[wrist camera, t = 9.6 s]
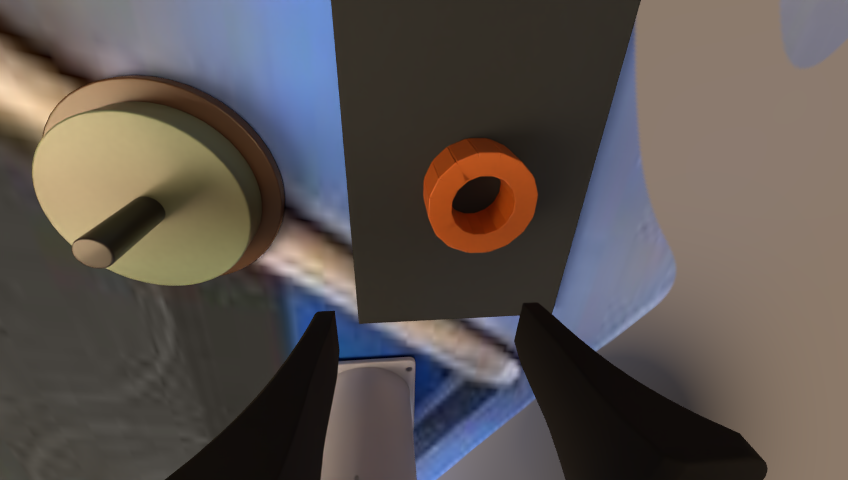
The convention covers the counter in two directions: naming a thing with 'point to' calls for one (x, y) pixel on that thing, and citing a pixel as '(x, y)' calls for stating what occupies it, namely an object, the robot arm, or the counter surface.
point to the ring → (498, 218)
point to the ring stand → (157, 181)
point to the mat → (469, 118)
